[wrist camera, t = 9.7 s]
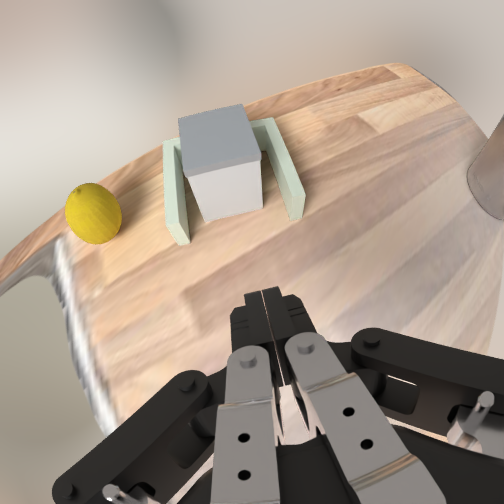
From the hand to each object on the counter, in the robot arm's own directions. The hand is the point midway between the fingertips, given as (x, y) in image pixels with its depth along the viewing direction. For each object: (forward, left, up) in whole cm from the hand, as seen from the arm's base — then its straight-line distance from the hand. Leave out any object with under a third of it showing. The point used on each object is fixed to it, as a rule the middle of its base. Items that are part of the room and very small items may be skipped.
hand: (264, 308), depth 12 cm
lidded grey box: (+1, -16, -12) cm, 20 cm away
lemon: (+14, -14, -12) cm, 24 cm away
